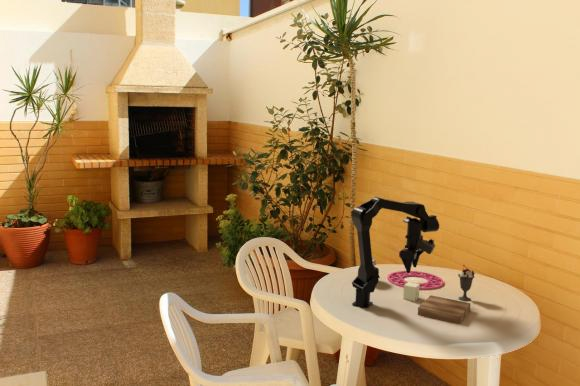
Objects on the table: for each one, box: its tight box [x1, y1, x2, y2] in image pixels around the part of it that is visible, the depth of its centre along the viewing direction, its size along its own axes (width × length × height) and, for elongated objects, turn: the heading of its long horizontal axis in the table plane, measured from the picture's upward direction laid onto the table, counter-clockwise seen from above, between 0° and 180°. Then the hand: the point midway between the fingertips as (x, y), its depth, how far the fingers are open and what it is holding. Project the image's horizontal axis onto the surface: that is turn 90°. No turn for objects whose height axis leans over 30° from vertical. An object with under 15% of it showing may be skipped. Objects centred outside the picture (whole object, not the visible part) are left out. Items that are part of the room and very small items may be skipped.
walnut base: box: [417, 294, 472, 325], centre depth 220 cm, size 16×16×3 cm
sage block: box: [402, 281, 420, 302], centre depth 234 cm, size 5×5×6 cm
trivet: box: [386, 270, 445, 291], centre depth 258 cm, size 25×25×1 cm
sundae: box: [457, 264, 476, 302], centre depth 234 cm, size 7×7×15 cm
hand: (411, 269), depth 233 cm, fingers open, 9 cm apart
